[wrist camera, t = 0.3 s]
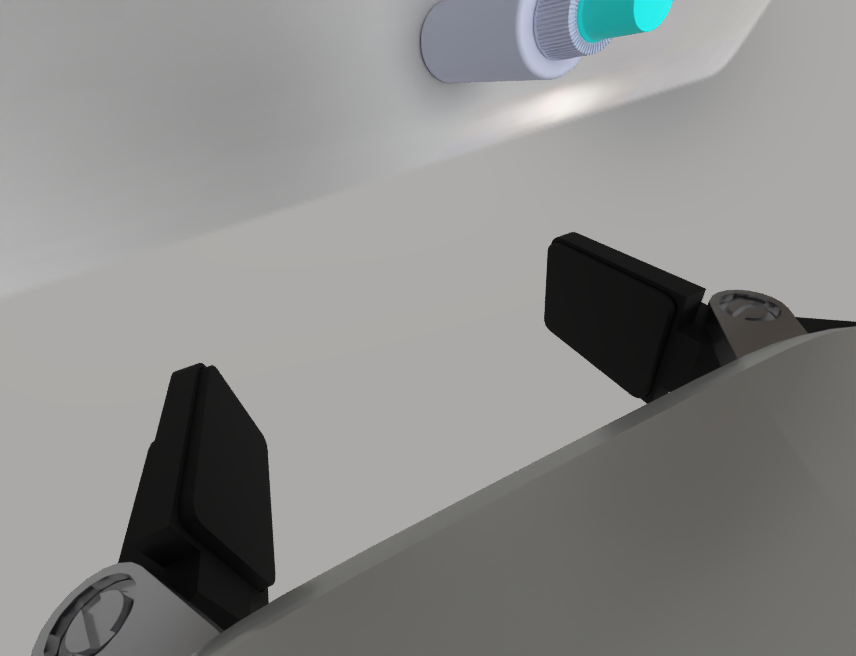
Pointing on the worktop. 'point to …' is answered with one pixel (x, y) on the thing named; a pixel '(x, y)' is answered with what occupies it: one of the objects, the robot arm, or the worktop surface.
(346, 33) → the worktop surface
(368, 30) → the worktop surface
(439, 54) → the spray bottle
